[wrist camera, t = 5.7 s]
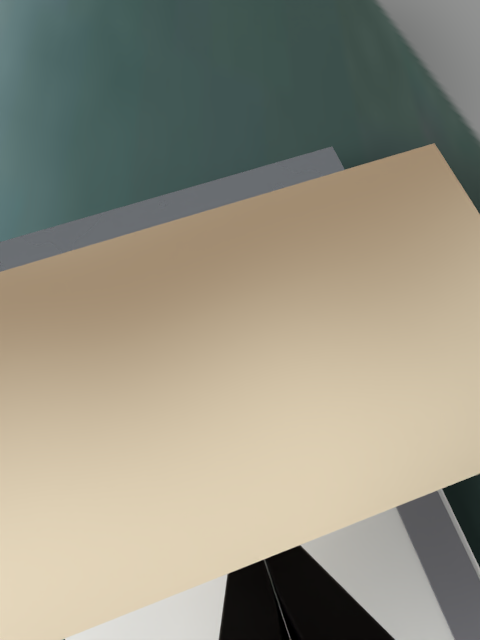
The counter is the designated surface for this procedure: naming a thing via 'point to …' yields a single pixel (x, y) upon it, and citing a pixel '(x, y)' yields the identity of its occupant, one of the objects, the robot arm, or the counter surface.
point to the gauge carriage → (233, 388)
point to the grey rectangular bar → (166, 208)
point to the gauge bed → (352, 581)
